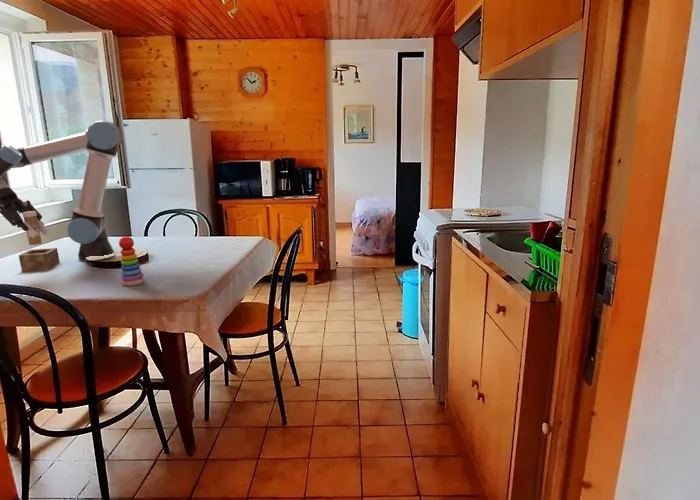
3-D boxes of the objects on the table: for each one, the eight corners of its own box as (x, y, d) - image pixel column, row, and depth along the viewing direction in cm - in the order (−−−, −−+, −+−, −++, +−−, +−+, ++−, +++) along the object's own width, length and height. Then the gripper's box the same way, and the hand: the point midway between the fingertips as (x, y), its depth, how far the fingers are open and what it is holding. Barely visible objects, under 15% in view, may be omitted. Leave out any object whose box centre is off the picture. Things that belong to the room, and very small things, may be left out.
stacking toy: (126, 280, 175) (120, 234, 170) (147, 279, 176) (141, 233, 171) (118, 287, 167) (111, 239, 163) (140, 286, 168) (133, 238, 163)
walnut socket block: (59, 262, 204) (57, 247, 202) (50, 268, 193) (47, 253, 192) (32, 264, 201) (29, 249, 199) (21, 271, 191) (18, 255, 189)
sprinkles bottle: (34, 245, 178) (27, 212, 174) (26, 245, 179) (19, 212, 176) (45, 243, 182) (38, 210, 179) (36, 242, 183) (30, 210, 180)
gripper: (18, 196, 188) (56, 235, 188) (-25, 202, 172) (16, 245, 172) (25, 184, 185) (63, 224, 185) (-18, 189, 169) (23, 232, 169)
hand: (40, 234), depth 178 cm, fingers closed on sprinkles bottle, 4 cm apart
